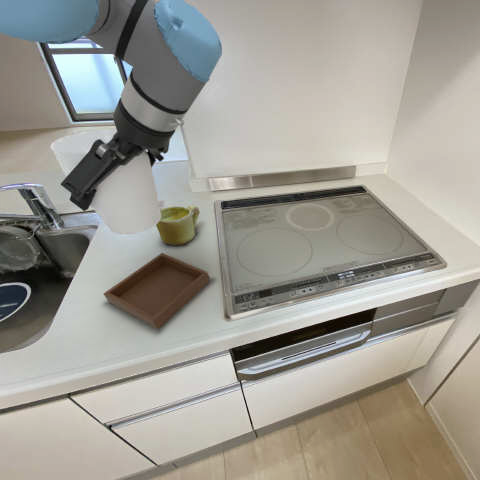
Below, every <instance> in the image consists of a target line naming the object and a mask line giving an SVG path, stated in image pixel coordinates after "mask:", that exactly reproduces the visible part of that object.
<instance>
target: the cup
mask: <svg viewBox="0 0 480 480" xmlns="http://www.w3.org/2000/svg"><path fill="white" fill-rule="evenodd" d="M116 132H117V129H115V128H111V129H110V128H109V129H106V128H105V129H94V130H88V131H82V132H76V133H72V134H68V135H65V136H62V137H59V138H58V139H55V140H54V141H53V142H51V144H50V146H49V147H50V149H51V151H52V153H53V154H54V156H55V158H56V160H57V162H58V164H59V166H60V168H61V170H62V173H63V174H64V175H65V178H66V177H67V176H68V175H69V174H70V172H71V171H72V170H73V169H74V168H75V167H76V166H77V164H78V163H79V162H80V161H81V160H82V159H83V158H84V157H85V155H86V154H87V153H88V152H89V151H90V149H91V147H92V145H93V143H94V142H95V141H96V140H98V139H101V140H102V141H103V142H104V143H105V144H106V143H108V142H109V141H110V140H112V138H113V135H114V134H115V133H116ZM146 151H147V150H145V151H143V153H141V154H140V155H139V156H136V157H134V158H133V159H132V160H131V161H130V162H129V163H128V164H127V165H125V166H123V165H120V166H119V167H118V168H117V169H116V170H115V171H113V172H112V173H111V174H110V175H109V176H108V177H107V178H106V179H105V180H103V181H102V182H101V183H100V184H99V185H98V186H97V187H96V188H95V189H96V190H97V191H96V193H95V195H94V198H93V200H92V202H91V204H90V206H89V207H91V208H92V210H93V211H94V212H95V213H96V214H97V216H98V217H99V218H100V219H101V221H102V222H103V223H104V224H105V225H106V226H107V228H108V229H109V230H110V231H111V232H112V233H114V234H117V235H134V234H139V233H143V232H145V231H148V230H150V229H152V228H154V227H155V226H156V224H157V223H158V222H159V221H160V219H161V212H160V209H161V207H160V203H159V198H158V192H157V188H156V183H155V178H154V173H153V169H152V168H151V164H150V160H149V156H148V154H147V152H148V151H147V152H146ZM115 152H116V154H117V155H118V156H119V157H120V158H121V159H124V158H125V157H124V156H123V155H122V154H120V153H119V152H118V151H115Z"/></svg>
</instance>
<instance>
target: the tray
mask: <svg viewBox="0 0 480 480" xmlns="http://www.w3.org/2000/svg"><path fill="white" fill-rule="evenodd" d="M210 282H211V279H210V276H209V273H208V271H205V270H203V269H201V268H198V267H196V266H193V265H192V264H189V263H187V262H184V261H182V260H180V259H177V258H175V257H173V256H170V255H168V254H166V253H163V252H161V253H160V254H158V255H157V256H155V257H154V258H153V259H151V260H150V261H148V262H147V263H145V264H144V265H142V266H140V268H138V269H137V270H135V271H134V272H132V273H131V274H129V275H128V276H127V277H125V278H124V279H123V280H121V281H119V282H118V283H117V284H115V285H113V286H112V287H111V288H110V289H107V290H106V291H105V292H104V293H103V296H104V297H105V299H106V300H107V302H108V303H109V304H111V305H113V306H114V307H116V308H118V309H120V310H121V311H123V312H125V313H127V314H129V315H130V316H132V317H135V318H136V319H138V320H139V321H142V322H143V323H145V324H147V325H149V326H151V327H153V328H155V329H156V330H160V329H161V328H162V327H163V326H164V325H165V324H166V323H167V322H168V321H169V320H170V319H171V318H173V316H174V315H176V314H177V313H178V312H179V311H180V310H181V309H182V308H183V307H185V305H187V303H189V302H190V301H191V300H192V299H193V298H194V297H195V296H196V295H197V294H198V293H199V292H201V290H203V288H205V287H206V286H208V284H209V283H210Z"/></svg>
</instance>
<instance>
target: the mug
mask: <svg viewBox="0 0 480 480" xmlns="http://www.w3.org/2000/svg"><path fill="white" fill-rule="evenodd" d="M160 212H161V219H160V221H159V222H158V223H157V224H156V225H155V226H156V228H157V231H158V233H159V236H160V240H161V241H162V243H164V244H166V245H170V246H180V245H186V244H187V243H189V242H190V241H191V240H193V239H194V238H195V237H196V236H195V235H196V232H195V228H196V223H197V221H198V219H199V215H200V214H201V213H200V209H199V208H198V206H197V205H194V204H192V205H191V204H190V205H189V206H187V207H185V206H179V205H172V206H166V207H162V208H160Z"/></svg>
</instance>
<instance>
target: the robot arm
mask: <svg viewBox="0 0 480 480" xmlns="http://www.w3.org/2000/svg"><path fill="white" fill-rule="evenodd" d="M0 34H1V35H2V34H3V35H4V36H7V37H11V38H15V39H19V40H22V41H23V40H24V41H28V42H34V43H42V44H43V43H44V44H51V45H64V44H69V43H72V42H75V41H77V40H80V39H81V38H82V37H85V38H86V39H88V40H89V41H91V42H93V43H95V44H96V45H97V46H99V47H101V48H103V49H104V50H106V51H107V52H108V53H110V54H112V55H113V56H115V58H118V59H119V60H120V61H122V62H125V64H127V65H129V66H130V67H132V68H131V70H130V73H129V76H128V77H127V80H126V82H125V84H124V87H123V88H122V91H121V93H120V98H119V99H118V102H117V104H116V107H115V109H114V111H113V113H112V114H113V115H112V120H113V123H114V126H115V128H116V129H117V132H116V133H115V134H114V135H113V138H112V140H110V141H109V142H108V143H106V144H105V143H104V142H103V141H102V140H101V139H98V140H96V141H95V142H94V143H93V145H92V147H91V149H90V151H89V152H88V153H87V154H86V155H85V157H84V158H83V159H82V160H81V161H80V162H79V163H78V164H77V166H76V167H75V168H74V169H73V170H72V171H71V172H70V174H69V175H68V176H67V177H66V176H65V178H64V179H63V180H62V181H61V183H60V186H61V187H63V188H64V189H65V190H67V191H68V192H69V193H70V196H69V201H70V202H71V203H72V204H74V205H75V206H76V207H77V208H79V209H81V211H83V212H86V211H87V210H89V208H90V207H91V206H90V204H91V202H92V200H93V198H94V195H95V193H96V191H97V190H96V189H95V188H96V187H97V186H98V185H99V184H100V183H101V182H102V181H103V180H105V179H106V178H107V177H108V176H109V175H110V174H111V173H112V172H113V171H115V170H116V169H117V168H118V167H119V166H120V165H123V166H125V165H127V164H128V163H129V162H130V161H131V160H132V159H133V158H134V157H136V156H139V155H140V154H141V153H143V151H145V150H146V152H147V154H148V156H149V160H150V164H151V169H152V168H153V167H154V165H155V163H156V162H157V161H158V162H162V161H164V159H165V157H164V156H163V155H165V154H167V153H168V152H169V148H170V142H171V141H170V140H172V138H173V135H174V134H175V133H176V130H177V129H178V127H179V126H181V127H182V126H184V125H185V121H184V118H185V116H186V114H187V113H188V111H189V110H190V108H191V107H192V106H193V103H194V102H195V101H196V99H197V98H198V96H199V95H200V93H202V90H203V88H204V87H205V86H206V84H207V83H209V81H210V78H211V75H212V73H213V72H214V71H215V68H216V67H217V64H218V63H219V61H220V59H221V57H222V55H223V46H222V40H221V38H220V36H219V34H218V32H217V30H216V29H215V28H214V26H213V24H212V23H211V21H209V19H207V17H206V16H204V14H202V12H200V10H199V9H197V8H196V7H195V6H194V5H191V4H189V3H187V2H186V1H185V0H158V1H157V2H155V1H154V0H0ZM115 151H118V152H119V153H120V154H122V155H123V156H124V157H125V158H124V159H121V158H120V157H119V156H118V155H117V154H116V152H115ZM162 154H163V155H162Z"/></svg>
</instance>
